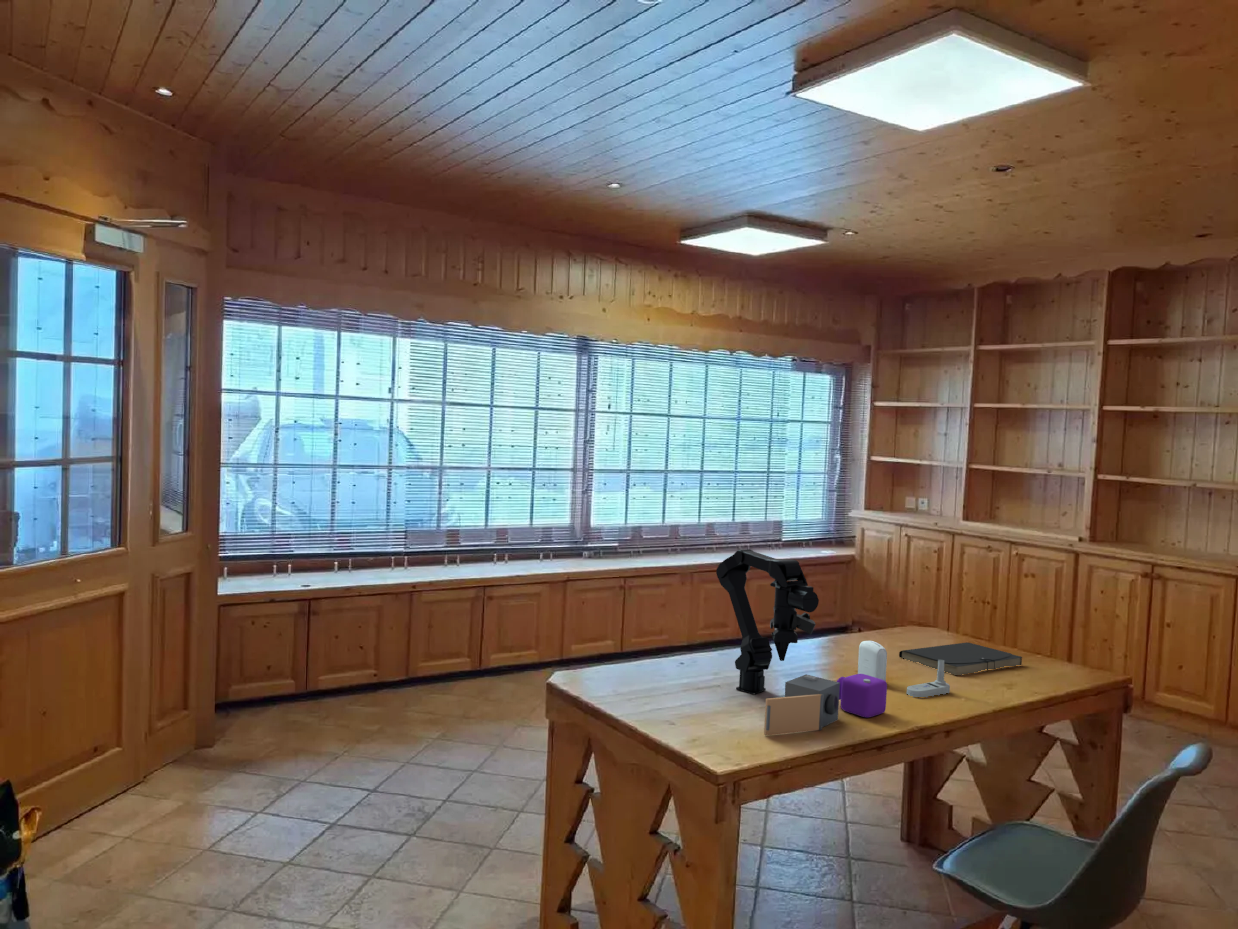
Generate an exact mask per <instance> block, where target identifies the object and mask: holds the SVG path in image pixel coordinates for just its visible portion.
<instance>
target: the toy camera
mask: <svg viewBox="0 0 1238 929" xmlns="http://www.w3.org/2000/svg"><path fill="white" fill-rule="evenodd" d="M836 682H839V683H840V691H839V700H840V708H841V710H842V711H845V712H847V713H850V714H854V715H856V716H858V717H859V716H860V717H862V718H866V719H867V718H872V717H875V716H878V715H881V714H883V713H885V712H886V707H887V694H888V693H887V691H888V684H887V681H884V680H882V679H879V678H876V677H872V676H869V675H865V674H858V673H857V674H856V673H855V674H852V675H849V676H846V677H845V676H840V677H839V678H838V679H837V680H836Z"/></svg>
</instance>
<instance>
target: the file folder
mask: <svg viewBox="0 0 1238 929" xmlns="http://www.w3.org/2000/svg"><path fill="white" fill-rule="evenodd" d="M898 656H899V658H900V657H902V658H904V659H903V660H905V659H907V660H906V661H908V660H910V661H909V662H911V661H913V662H912V663H914V662H919V663H921V664H923V665H926V666H929V667H932V668H935V669H938V660H944V671H945V672H948V673H951V674H954V675H961V676H963V675H962V674H968V673H974V672H978V671H981V670H985V669H987V670H988V669H996V668H1000V667H1004V666H1016V665H1023V664H1022V662H1023V656H1019V655H1015V654H1012V653H1010V652H1006V651H1004V650H1003V651H1002V650H999V649H994V648H991V647H988V646H987V647H986V646H984V645H981V644H975V643H973V642H972V643H971V642H961V643H958V642H957V643H953V644H951V643H950V644H944V645H936V646H929V647H927V646H926V647H920V648H919V647H918V648H913V649H905V650H904V649H903V650H900V651H899V652H898ZM902 658H901V659H902ZM923 665H922V666H923ZM926 666H925V667H926ZM929 667H928V668H929ZM932 668H931V669H932ZM935 669H934V670H935ZM945 672H944V673H945ZM948 673H947V674H948ZM951 674H950V675H951ZM974 674H975V673H974ZM954 675H953V676H954ZM968 675H969V674H968Z"/></svg>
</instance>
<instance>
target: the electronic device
mask: <svg viewBox="0 0 1238 929" xmlns="http://www.w3.org/2000/svg"><path fill="white" fill-rule="evenodd" d="M936 672H937V673H936V679H935V680H934V681H930V682H925V683H924V682H923V683H919V684H913V685H908V686H907V688H906V695H907V694H908V695H910V696H913V697H912V698H914V697H926V698H929V697H928V696H932V697H935V696H934V695H938V696H941V695H940V694H943V695H947V694H946V693H948V694H949V693H950V692H951V685H950V684H949V683H947V682H946V681H945V672H944V660H938V670H936ZM908 695H907V696H908ZM910 696H909V697H910Z"/></svg>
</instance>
